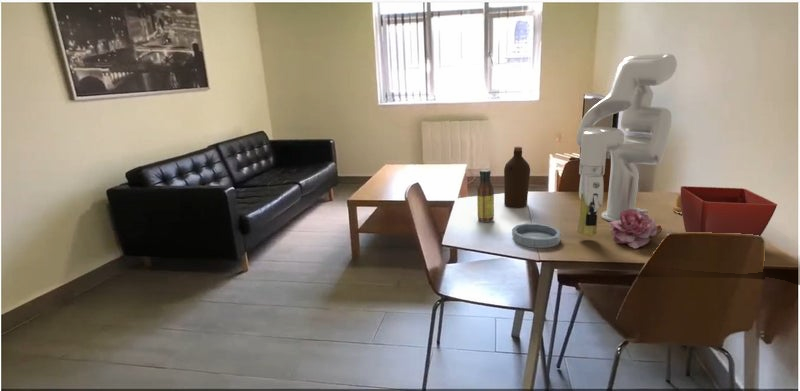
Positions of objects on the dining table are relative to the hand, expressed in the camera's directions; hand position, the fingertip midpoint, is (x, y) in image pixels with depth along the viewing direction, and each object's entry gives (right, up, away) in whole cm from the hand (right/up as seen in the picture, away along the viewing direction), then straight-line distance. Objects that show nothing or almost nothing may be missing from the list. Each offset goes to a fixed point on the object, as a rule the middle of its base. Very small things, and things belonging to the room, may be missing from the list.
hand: (587, 221), depth 145 cm
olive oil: (-13, +5, +42) cm, 44 cm away
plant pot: (+39, -7, -5) cm, 40 cm away
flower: (+15, -7, 0) cm, 16 cm away
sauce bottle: (-30, -1, +24) cm, 38 cm away
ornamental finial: (+49, +2, +26) cm, 55 cm away
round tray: (-16, -6, +4) cm, 18 cm away
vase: (0, -4, +1) cm, 4 cm away
